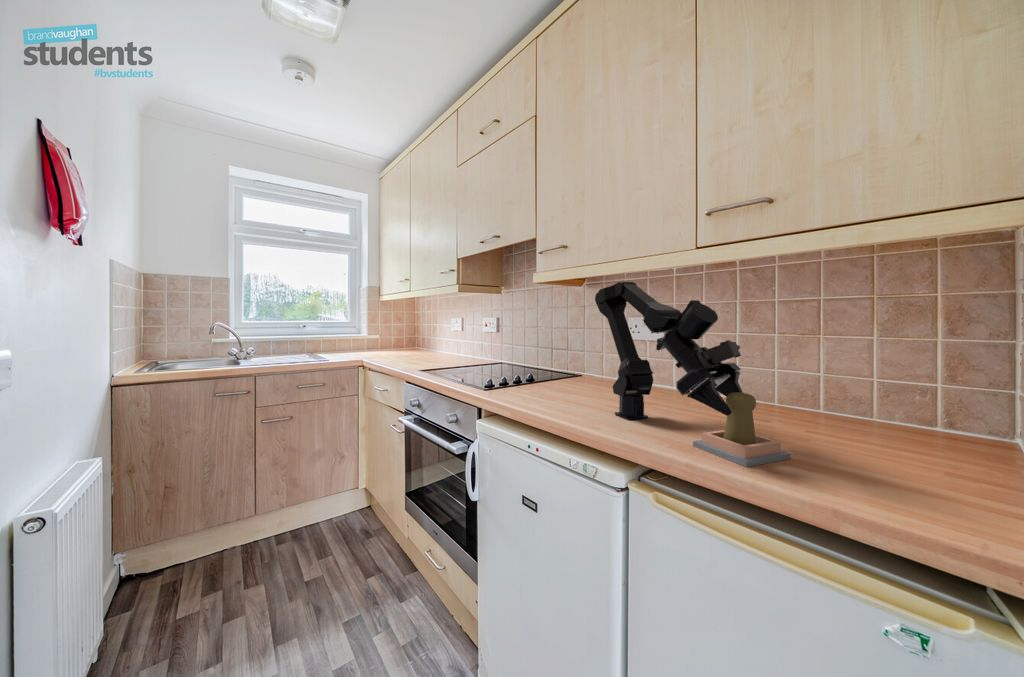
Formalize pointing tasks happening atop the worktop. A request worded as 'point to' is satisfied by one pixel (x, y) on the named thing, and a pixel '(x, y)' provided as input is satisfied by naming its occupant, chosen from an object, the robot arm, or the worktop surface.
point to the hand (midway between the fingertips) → (738, 410)
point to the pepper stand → (742, 449)
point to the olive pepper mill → (740, 419)
